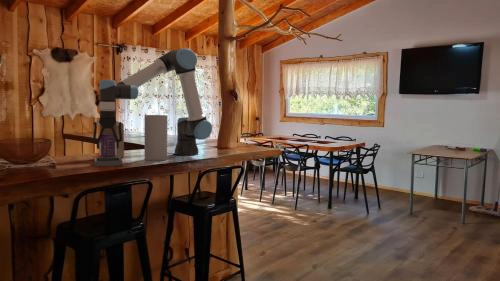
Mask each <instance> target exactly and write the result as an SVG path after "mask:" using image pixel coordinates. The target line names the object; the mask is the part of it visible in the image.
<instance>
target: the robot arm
mask: <svg viewBox="0 0 500 281" xmlns="http://www.w3.org/2000/svg"><path fill="white" fill-rule="evenodd" d="M197 63H198V58H197V55H196V53H195V51H193V50H192V49H190V48H184V47H182V48H179V49H172V50H169V51H167V52H166V53H164V54H163V55H161V56H159V57H158V58H156V59H155V61H154V62H152V63H150V64H149V65H148V66H145V67H144V68H142V69H140V70H138V71H137V72H135V73H133V74H131V75H129V76H127V77H126V78H124V79H123V80H121V81H118V82H117V83H116V80H113V79H101V80H100V81H99V110H100V111H99V119H98V121H93V126H94V127H93V136H92V142H95V143H96V149H97V150H98V152H99V153H98V154H99V157H100V156H101V143H100V139H101V136H102V134H103V131H104V129H107V128H109V129H112V132H113V134H114V137H115V140H116V142H115V155H117V149H118V148H119V142H120V141H122V132H121V124H122V122H121V121H117V120H116V100H136V99H137V98H138V96H139V89H138V88H139V87H142V86H143V85H144V84H146V83H148V82H150V81H152V80H153V79H155V78H156V77H158V76H160V75H162V74H163V75H164V74H167V73H169V72H173V71H174V72H175V75H176V76H178V77H179V80H180V86H181V90H182V93H183V99H184V102H185V108H186V111H187V114H188V116H185V117H179V118H178V119H177V121H176V122H177V123H176V125H177V126H176V130H177V134H176V135H177V142H176V143H175V147H174V151H173V152H174V155H176V156H195V155H196V154H197V155H199V154H198V153H200V152H199V147H198V145H197V140H199V141H202V140H206V139H208V138H210V136H211V134H212V133H213V132H212V131H213V125H212V123H211V122H210V121H208V120H207V115H206V114H205V113H204V112H203V108H202V104H201V100H200V94H199V91H198V86H197V83H196V78H195V77H196V76H195V73H196V66H197ZM116 123H117V126H118V130H119V138H120V139H118V138H117V135H116V133H115V130H114V125H115V124H116ZM100 125H101V126H102V128H101V131H100V130H99V134H98V136H97V132H98V131H97V129H98V126H100Z"/></svg>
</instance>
